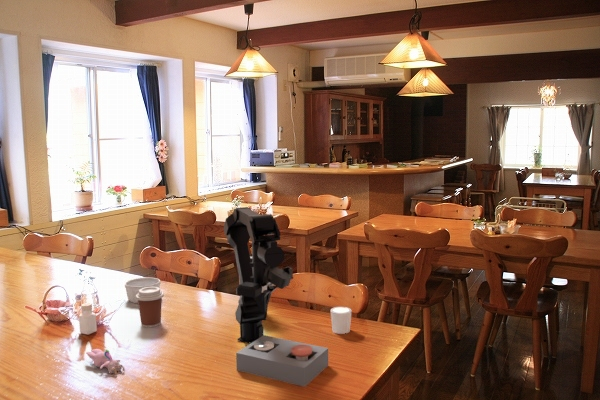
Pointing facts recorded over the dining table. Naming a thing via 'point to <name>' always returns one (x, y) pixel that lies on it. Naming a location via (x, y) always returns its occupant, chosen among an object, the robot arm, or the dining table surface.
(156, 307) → the coffee cup
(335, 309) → the white cup
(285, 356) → the console
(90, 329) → the pepper shaker
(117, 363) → the rabbit figure
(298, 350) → the red button
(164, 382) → the dining table surface
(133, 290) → the ramekin
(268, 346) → the metal button
